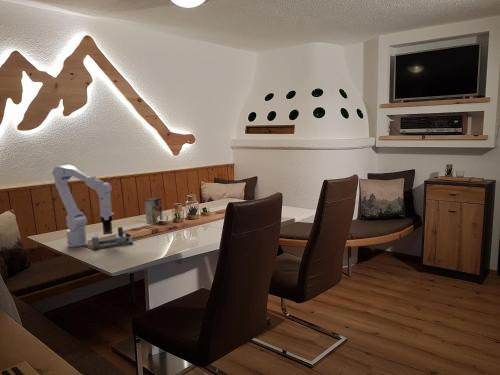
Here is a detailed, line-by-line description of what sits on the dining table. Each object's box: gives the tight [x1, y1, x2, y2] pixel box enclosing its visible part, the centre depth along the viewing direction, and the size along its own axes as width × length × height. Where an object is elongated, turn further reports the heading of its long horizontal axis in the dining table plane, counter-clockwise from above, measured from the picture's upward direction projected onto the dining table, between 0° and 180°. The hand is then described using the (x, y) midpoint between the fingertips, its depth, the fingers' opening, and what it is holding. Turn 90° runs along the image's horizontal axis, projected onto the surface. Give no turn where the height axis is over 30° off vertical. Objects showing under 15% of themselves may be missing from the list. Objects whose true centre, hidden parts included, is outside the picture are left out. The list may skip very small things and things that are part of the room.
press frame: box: [91, 232, 133, 250], centre depth 210 cm, size 20×11×6 cm, turn 111°
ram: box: [115, 226, 127, 243], centre depth 212 cm, size 5×8×8 cm, turn 21°
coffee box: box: [144, 197, 163, 225], centre depth 259 cm, size 9×6×16 cm
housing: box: [102, 222, 113, 235], centre depth 206 cm, size 4×4×5 cm
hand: (107, 230), depth 207 cm, fingers closed on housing, 4 cm apart
